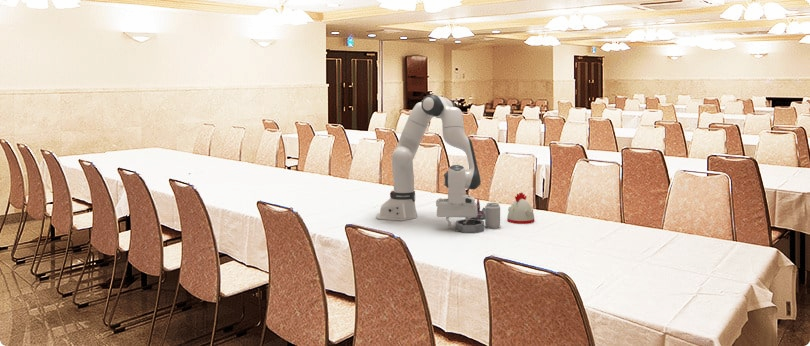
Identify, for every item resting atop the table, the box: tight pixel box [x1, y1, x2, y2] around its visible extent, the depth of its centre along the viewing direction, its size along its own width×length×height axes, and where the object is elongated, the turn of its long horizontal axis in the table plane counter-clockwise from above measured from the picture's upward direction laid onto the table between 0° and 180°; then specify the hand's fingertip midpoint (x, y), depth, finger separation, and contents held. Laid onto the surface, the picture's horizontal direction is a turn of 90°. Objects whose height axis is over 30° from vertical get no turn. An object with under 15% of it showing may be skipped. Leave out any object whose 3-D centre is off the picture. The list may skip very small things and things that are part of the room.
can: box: [484, 202, 501, 229], centre depth 327 cm, size 8×8×12 cm
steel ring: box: [454, 218, 485, 234], centre depth 323 cm, size 14×14×4 cm
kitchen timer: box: [506, 192, 535, 225], centre depth 338 cm, size 14×14×15 cm
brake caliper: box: [471, 197, 485, 221], centre depth 347 cm, size 11×11×12 cm
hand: (457, 225), depth 324 cm, fingers open, 6 cm apart
